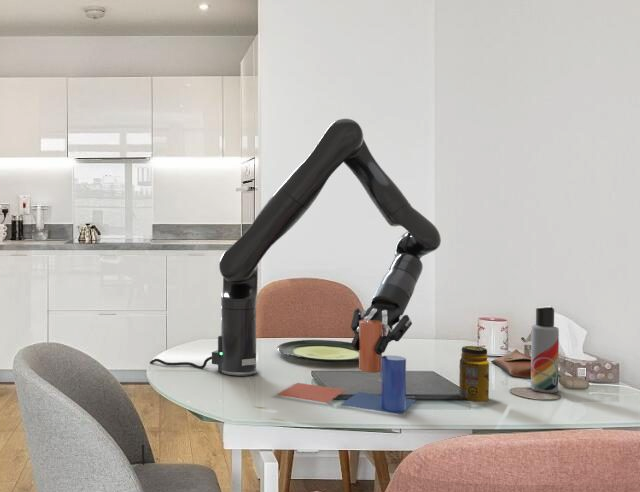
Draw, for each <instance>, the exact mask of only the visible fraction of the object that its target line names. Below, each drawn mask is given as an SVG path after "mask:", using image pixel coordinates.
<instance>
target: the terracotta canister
mask: <svg viewBox="0 0 640 492" xmlns="http://www.w3.org/2000/svg"><path fill="white" fill-rule="evenodd" d="M382 330H383V329H382V322H381V321H377V320H360V321H359V361H358V370H359V371H361V372H364V373H371V374H377V373H381V357H382V356H383V353H382V354H381V355H378V354H377V353H376V351H375V346H376V344H377V342H378V340H379V338H380V336H383V335H382Z"/></svg>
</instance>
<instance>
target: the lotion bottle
mask: <svg viewBox="0 0 640 492" xmlns="http://www.w3.org/2000/svg"><path fill="white" fill-rule="evenodd" d="M559 334H560V331H559V327H557V326H555V309H554V308H553V306H546V307H545V306H544V307H536V308H535V325H531V334H530V341H531V342H530V344H531V345H530V349H531V350H530V358H531V378H530V388H531V390H533V391H536V392H539V393H546V394H553V393H557V392H558V391H559V356H560V355H559V353H560V352H559V351H560V350H559V348H560V347H559V345H560V344H559V343H560V341H559V340H560V337H559V336H560V335H559Z"/></svg>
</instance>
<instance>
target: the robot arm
mask: <svg viewBox="0 0 640 492" xmlns="http://www.w3.org/2000/svg"><path fill="white" fill-rule="evenodd" d="M343 163H344V165H346V167H347V168H348V169H349V170H350V171H351V172H352V174H353V175H354V176H355V178H356V179H357V180H358V181H359V183H360V184H361V186H362V188H363V189H364V190H365V192H366V194H367V195H368V197H369V199H370V200H371V202H372V203H373V204H374V206H375V207H376V209H377V210H378V212H379V214H381V216H382V217H383V219H384V220H385V221H386V223H387V224H388V225H389V226H390V227H402V228H404V229H405V230H406V232H404V233H403V234H402V235H400V237H399V238H398V241H397V242H396V245H395V249H394V254H393V260H392V261H391V263H390V265H389V267H388V270H387V272H386V273H385V274H384V276H383V277H382V279H381V281H380V283H379V285H378V287H377V289H376V291H375V293H374V295H373V297H372V299H371V303H370V306H369V307H367V308H366V310H360V308H358V307H357V308H355V309H354V311H353V315H352V319H351V320H352V321H351V322H350V323H351V324H350V329H351V330H352V333H354V337H353V339H352V341H351V343H352V346H353V348H354V350H357V351H359V321H360V320H377V321H381V322H382V336H380V338H379V340H378V342H377V344H376V346H375V351H376V353H377V354H378V355H381V354H382V355H383V354H384V353H385V351H386V350H387V347H388V345H389V344H390V343H391V342H393V341H395V342H399V341H400V340H401V339H402V338H403V337H404V335H405V334H406V332H407V331H408V330H409V329H410V328H411V326H412V324H413V322H412V320H411V318H410V317H409V315H408V314H404V313H405V311H406V309H407V307H408V305H409V303H410V300H411V298H412V297H413V294H414V291H415V288H416V285H417V283H418V282H419V279H420V277H421V274H422V271H423V269H424V268H423V267H424V266H423V262H422V260H421V259H422V257H424V256H426V255H429V254H430V253H432V252H434V251H436V250H438V249H439V248H440V246H441V242H442V238H441V233H440V232H439V230H438V228H437V227H436V225H434V223H432V221H430V220H429V219H428V218H426V216H424V215H423V214H422V213H421V212H419V211H418V210H417V209H416V208H414V207H413V206H412V204H411V203H410V202H409V200H408V199H407V198H406V196H405V195H404V194H403V192H402V190H401V189H400V188H399V187H398V185H397V184H396V183H395V182H394V181H393V179H392V178H391V177H390V176H389V175H388V174H387V173H386V172H385V170H384V169H383V168H382V167H381V166H380V165H379V163H378V162H377V161H376V159H375V158H374V156H373V154H372V152H371V151H370V149H369V147H368V145H367V143H366V140H365V139H364V132H363V129H362V127H361V125H360V124H359V123H358V122H357V121H355V120H354V119H351V118H340V119H339V118H338V119H337V120H334V121H333V122H331V123H330V125H328V127H327V129H326V130H325V132H324V133H323V135H322V136H321V137H320V139H319V141H318V143H317V144H316V146H315V147H314V148H313V150H312V151H311V153H310V154H309V155H308V156H307V157H306V158H305V160H304V161H303V162H302V163H301V164H300V165H298V167H297V168H295V169H294V171H292V173H291V174H289V176H288V177H287V178H286V179H285V180H284V181H283V182H282V183H281V184H280V186H279V187H278V188H277V189H276V190H275V191H274V193H273V194H272V196H271V197H270V198H269V199H268V200H267V202H266V203H265V204H264V206H263V207H262V208H261V210H260V211H259V213H258V214H257V216H256V217H255V219H254V220H253V222H252V223H251V225H250V226H249V227H248V229H247V230H245V232H244V233H243V234H242V235H241V236H240V237H239V238H238V239H237V240H236V241H235V242H234V243H232V245H231V246H230V247H229V248H228V249H226V250H225V251H224V252H223V253H222V255H221V257H220V259H219V264H218V267H219V269H218V270H219V272H220V275H221V277H222V292H221V295H220V297H221V298H220V335H218V336H217V349H216V350H213V351H212V352H211V356H209V357H207V358H206V359H205V360H204V361H203V364H202V365H199V364H196V363H193V362H190V361H189V362H188V361H180V362H167V361H165V360H162V359H159V358H153V359H154V360H153V359H152V360H151V361H150V362H149V364H154V363H155V362H158V363H160V364H162V365H165V366H171V367H173V366H191V367H194V368H195V369H200V370H201V369H204V368H206V366H207V364H208V362H209V361H211V364H212V365H217V373H221V374H224V375H228V376H234V377H246V376H252V375H255V374H257V299H258V283H259V282H258V280H259V279H258V276H259V275H258V273H259V271H258V270H259V269H258V267H259V265H258V264H260V262H261V260H262V259H263V258H264V256H265V255H266V253H267V252H268V251H269V250H270V249H271V247H272V246H273V245H274V244H276V243H277V241H278V240H280V239H281V238H282V237H284V236H285V235H286V234H287V233H288V232H289V231H290V230H291V229H292V228H293V227H294V226H295V225H296V224H297V223H298V222H299V220H300V219H301V218H302V217H303V216H304V215H305V214H306V212H307V211H308V210H309V209H310V208H311V206H312V205H313V203H314V202H315V201H316V200H317V198H318V196H319V195H320V194H321V192H322V190H323V189H324V187H325V185H326V183H327V182H328V180H329V179H330V177H331V176H332V175H333V173H334V172H335V171H336V170H337V169H338V168H339V167H340V166H341V165H342V164H343ZM145 461H146V460H145V444H141V465H142V464H143V465H144V464H145V463H146V462H145ZM145 465H146V464H145Z"/></svg>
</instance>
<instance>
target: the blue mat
mask: <svg viewBox="0 0 640 492" xmlns="http://www.w3.org/2000/svg"><path fill="white" fill-rule="evenodd" d="M415 402H417V399H412V398H406V410H405V411H404V412H389V411H385V410H383V409H382V408H381V394H378V393H371V392H364V391H358V392H356V393H354V394H353V395H352V396H351V397H349V398H348V399H347V400H345V401H343V403H341V404H340V405H341V406H346V407H351V408H358V409H365V410H371V411H377V412H383V413H391V414H397V415H403V414H405V412H406V411H407V410H408V409H409V408H410V407H411V406H412V405H414V403H415Z"/></svg>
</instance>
